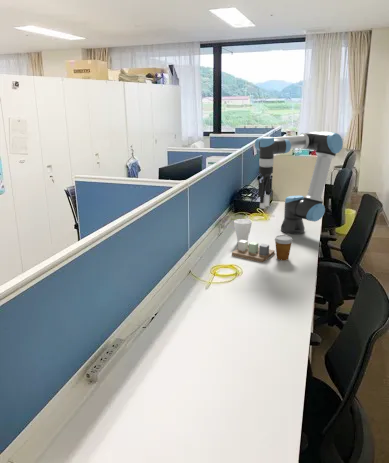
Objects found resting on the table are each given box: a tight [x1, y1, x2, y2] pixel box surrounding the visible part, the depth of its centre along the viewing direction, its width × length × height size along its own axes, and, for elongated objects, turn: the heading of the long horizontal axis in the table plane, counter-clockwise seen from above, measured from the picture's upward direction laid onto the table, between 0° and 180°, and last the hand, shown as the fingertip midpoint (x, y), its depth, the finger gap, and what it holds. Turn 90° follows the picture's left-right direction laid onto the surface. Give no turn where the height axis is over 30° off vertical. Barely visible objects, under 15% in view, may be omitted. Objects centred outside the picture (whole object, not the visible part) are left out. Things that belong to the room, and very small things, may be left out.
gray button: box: [258, 243, 270, 256], centre depth 225 cm, size 4×4×5 cm
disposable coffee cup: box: [274, 234, 293, 261], centre depth 222 cm, size 10×10×12 cm
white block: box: [237, 240, 249, 251], centre depth 232 cm, size 4×4×5 cm
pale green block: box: [248, 241, 259, 254], centre depth 228 cm, size 4×4×5 cm
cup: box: [233, 218, 253, 244], centre depth 247 cm, size 10×10×14 cm
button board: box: [231, 244, 276, 263], centre depth 229 cm, size 15×19×2 cm
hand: (264, 207), depth 232 cm, fingers open, 5 cm apart
